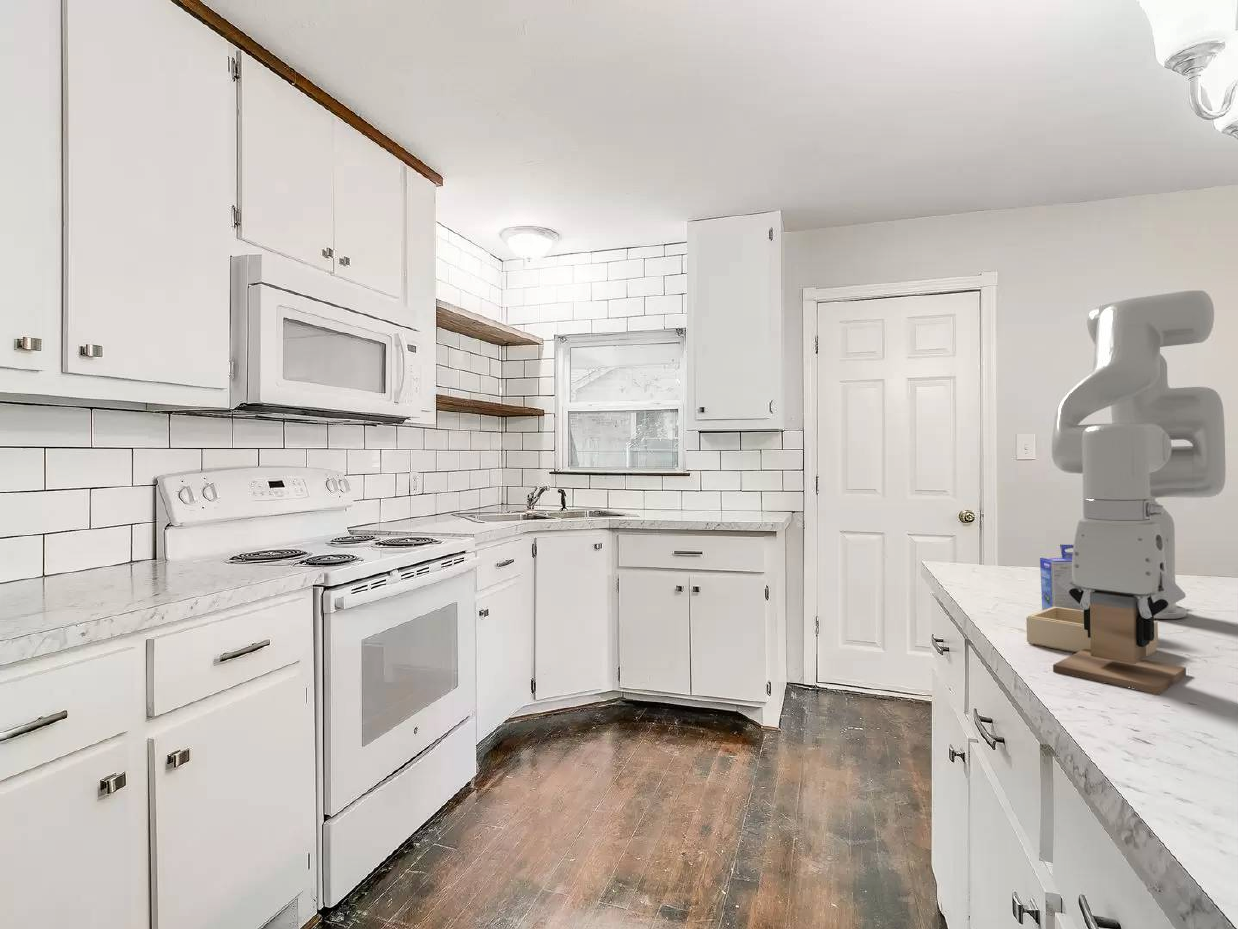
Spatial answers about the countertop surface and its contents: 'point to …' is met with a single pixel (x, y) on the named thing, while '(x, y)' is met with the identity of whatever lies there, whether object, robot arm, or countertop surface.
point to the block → (1114, 627)
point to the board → (1121, 672)
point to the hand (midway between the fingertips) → (1118, 639)
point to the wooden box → (1066, 630)
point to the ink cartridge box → (1049, 576)
